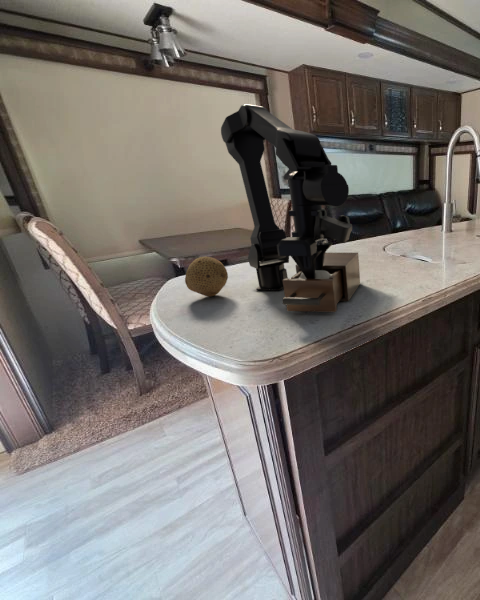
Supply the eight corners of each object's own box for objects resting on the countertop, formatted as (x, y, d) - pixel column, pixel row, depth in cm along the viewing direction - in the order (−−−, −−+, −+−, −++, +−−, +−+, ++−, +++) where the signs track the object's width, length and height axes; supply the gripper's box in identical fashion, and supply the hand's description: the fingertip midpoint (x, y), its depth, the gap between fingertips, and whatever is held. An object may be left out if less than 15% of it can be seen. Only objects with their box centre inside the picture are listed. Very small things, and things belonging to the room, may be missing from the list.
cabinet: (348, 301, 73) (345, 265, 70) (300, 300, 74) (295, 265, 71) (360, 283, 86) (358, 252, 83) (318, 283, 87) (315, 252, 84)
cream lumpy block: (334, 281, 70) (332, 267, 69) (329, 287, 66) (327, 272, 65) (304, 281, 70) (302, 267, 69) (297, 287, 67) (295, 271, 66)
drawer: (328, 321, 61) (325, 288, 58) (277, 320, 62) (271, 287, 59) (349, 292, 77) (347, 264, 74) (308, 291, 78) (304, 264, 75)
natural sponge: (236, 296, 78) (228, 257, 74) (195, 306, 72) (183, 263, 69) (226, 288, 84) (218, 251, 80) (187, 296, 78) (176, 257, 75)
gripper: (333, 207, 53) (340, 295, 59) (356, 200, 70) (361, 268, 76) (269, 208, 54) (283, 294, 59) (308, 201, 71) (315, 268, 77)
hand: (315, 279), depth 68 cm, fingers closed on cream lumpy block, 4 cm apart
